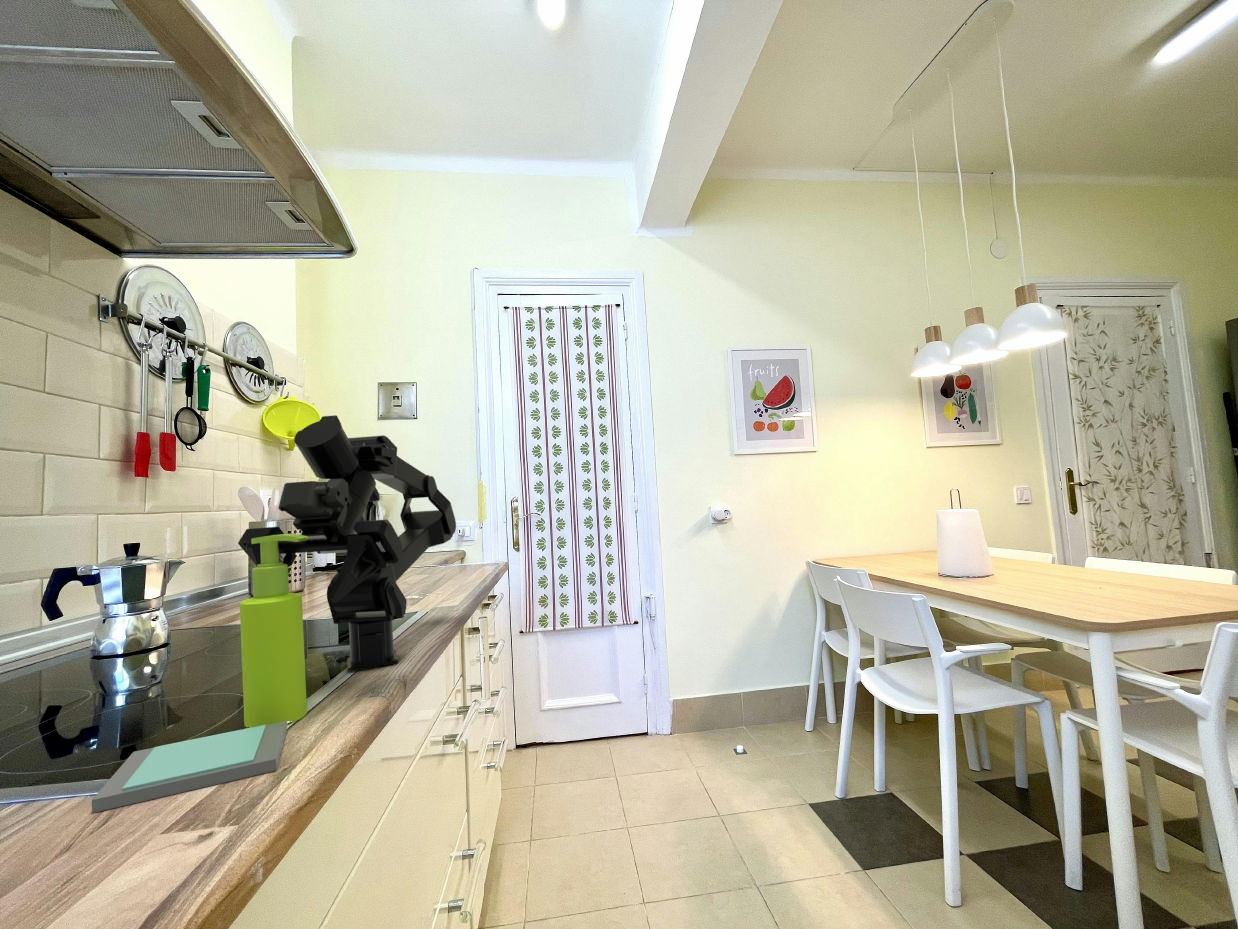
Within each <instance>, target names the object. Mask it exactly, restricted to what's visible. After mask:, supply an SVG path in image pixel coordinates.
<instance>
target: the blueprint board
mask: <svg viewBox="0 0 1238 929" xmlns="http://www.w3.org/2000/svg"><path fill="white" fill-rule="evenodd" d="M287 727H288V724H287V721H284V722H279V723H274V724H269V725H262V726H257V727H252V728H243V729H238V730H237V729H236V730H233V731H228V732H223V733H217V734H214V735H209V736H202V737H197V738H193V739H188V740H183V741H178V742H173V743H172V742H171V743H168V744H163V745H160V746H159V745H158V746H154V747H151V748H145V749H140V750H135V751H133V752H132V753H131V754H130V755H129V757H127V758H126V760H125V761H124V762H123V763H122V764H121V766H120V767H119V768H118V769H117V770H116V771H115V772H114V774H113V775H112V776H111V777H110V778H109V780H108V781H107V782H106V783H105V784H104V785H103V786H102V787H101V788H100V790H99V791H98V792H97V793H96V794H95V796H94V797H93V798H92V799H91V813H92V814H93V813H98V812H103V811H106V810H107V811H108V810H111V809H116V808H120V807H124V806H128V805H133V804H138V803H142V802H145V801H146V802H147V801H150V800H155V799H159V798H164V797H168V796H171V795H177V794H181V793H185V792H189V791H190V792H191V791H195V790H198V789H202V788H206V787H207V788H208V787H210V786H215V785H220V784H224V783H229V782H233V781H236V780H241V779H246V778H250V777H254V776H259V775H262V774H266V773H267V774H268V773H271V772H275V771H277V770H278V766H279V762H280V760H281V758H280V757H281V755H282V751H283V746H284V744H285V740H286V735H287V732H288V728H287Z"/></svg>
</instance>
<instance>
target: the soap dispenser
mask: <svg viewBox="0 0 1238 929" xmlns="http://www.w3.org/2000/svg"><path fill="white" fill-rule="evenodd" d="M308 538H309V537H308V536H303V535H301V534H296V533H294V534H293V533H284V534H280V535H272V536H264V537H258V538H252V539H251V544H255V543H260V552H261V564H258V565H257V567H256V566H254V567H252V568H251V569H252V570H251V574H252V576H251V579H252V597H249V598H247V599H243V600H241V601H240V602H239V616H240V617H239V618H240V624H239V625H240V645H241V647H240V648H241V668H242V670H241V672H242V674H241V675H242V693H243V694H242V695H243V696H242V699H243V717H244V718H243V722H244V727H245V726H246V727H249V728H252V727H257V726H262V725H269V724H274V723H279V722H284V721H290V722H291V721H292V723H294V722H297V721H299V720H301V719H302V718H304V717H305V716H306V715H307V714H308V708H307V707H308V705H307V704H308V702H307V683H306V660H305V640H304V639H305V636H304V616H303V594H301V593H296V592H290V591H289V590H290V589H289V587H290V586H289V574H288V569H289V567H288V565H287V564H283V562H279V556H278V541H293V542H299V541H305V540H307V539H308Z"/></svg>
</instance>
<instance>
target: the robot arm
mask: <svg viewBox="0 0 1238 929" xmlns="http://www.w3.org/2000/svg"><path fill="white" fill-rule="evenodd" d="M293 441H294V443H295V446H296V447H297V449H298V450H299V452H300V454H301V455H302V457H303V458H304V460H305V461H306V462H307V464H308V467H309V468H310V470H311V471H312V472H313V474H314V475H315V477H316V478H319V479H322V480H327V481H315V480H309V481H293V482H285V483H284V485H283V489H282V492H281V495H280V500H279V504H278V507H277V508H278V510H279V511H281V512H285V513H286V514H289V515H290V516H291V517H293V518H294V520H293V522H292V525H293V526H294V528H295V529H296V530H297V531H299V530H300V531H301V533H300V535H303V536H308V537H309V538H308V539H307V540H305V541H299V542H293V541H278V556H279V562H283V564H287V565H288V575H289V574H290V572H291V571H290V569H289V567H291V566H293V564H294V562H295V561H296V559H297V558H296V556H297V555H296V554H301V553H302V554H304V553H317V554H319V555H321V554H323V555H326V554H342V553H346V556H345V559H344V560H343V563H342V565H341V566H340V567H337V568H336V570H335V571H336V572H337V573H336V574H335V575H333V577H331V580H330V581H329V584H328V586H327V589H326V599H327V600H326V601H327V603H328V607H329V609H330V614H331V618H332V621H333V624H334V625H337V624H338V625H339V624H345V623H346V624H348V631H349V632H348V633H349V650H350V652H349V653H350V655H349V656H350V657H347V671H348V670H350V671H349V672H353V671H359V670H360V671H361V670H364V669H371V668H377V667H381V666H388V665H392V664H398V663H399V657H398V654H397V651H396V650H394V636H393V633H394V632H393V631H394V630H393V621H395V620H399V619H403V618H405V615H406V612H407V602H408V601H407V598H406V596H405V595H404V594H403V592H402V590H401V589H400V586H398V584H397V581H398V580H400V578H402V576H403V575H404V574H405V573H406V572H407V571H408V570H409V569H410V567H412V566H413V565H414V564H415V562H416V561H417V560H418V559H419V558H421V557H422V555H423V554H424V553H425V552H426V551H427V550H428V549H429V548H431V547H432V548H433V547H437V546H439V545H443V544H445V543H447V542H449V541H450V540H452V537H453V535H455V533H456V530H457V529H456V528H457V521H456V516H455V514H454V511H453V507H452V503H451V502H450V500H449V499H448V498H447V497H446V496H445V495H444V494H443V493H442V492H441V491H440V490H439V488H438V486H437V483H436V479H435V477H434V476H433V475H429V474H426V473H424V472H422V471H421V470H419V469H418V468H416V467H414V466H413V465H412V464H410V463H409V462H407V461H405V460H404V459H402V458H401V457H399V456H398V446H396V445H395V443H393V442H392V440H391V439H390V438H389V437H388V436H386V435H371V436H369V435H368V436H359V437H348V436H347V434H346V432H345V430H344V428H343V426H342V423H341V421H340V419H339V417H338V415H336V414H335V415H324V416H323V415H322V417H321V418H320V420H318V421H316V422H313V423H311V424H308V425H307V426H305V427H304V428H303V429H301V430H299V431H297V432H296V434H295V435H294V438H293ZM376 481H377V482H379V483H380V484H383V485H385V486H387V487H389V488H391V489H393V490H395V491H396V492H399V493H401V494H402V496H403V500H404V503H403V505H402V508H401V512H400V514H399V515H400V519H401V520H400V521H401V523H402V525H403V528H404V531H403V532H402V533H400V535H399V536H398V533H397V532H396V530H395V528H394V527H393V525H392V522H390V521H389V520H388V519H374V520H365V518H364V516H363V515H364V513H365V510H366V508H367V506H368V504H369V503H370V502H379V501H380V499H381V498H380V493H379V490H378V489H377V487H376V485H377V482H376ZM423 498H427V499H428V500H429V502H430V503H431V504H432V505H433V506H434V507H436V509H435V510H424V511H423V510H419V511H412V509H411V503H412V500H413V499H423ZM280 534H285V533H284V532H283V530H282V529H281V528H280V526H271V527H269V526H267V527H266V526H265V527H252V528H246V529H245V531H244V532H243V534H242V536H241V537H240V538H239V540H238V542H237V545H239V547H240V548H241V549H242V550H243V551H244V552H245V554H246V555H247V556H248V557H249V559H250V560H251V561H252V562H253V563H254V564H255V567H257V565H258V564H261V552H260V543H255V544H251V539H252V538H258V537H264V536H272V535H280Z"/></svg>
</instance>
